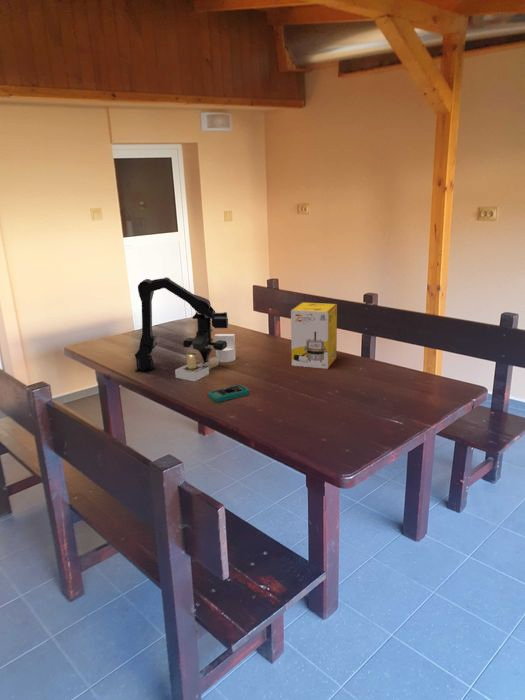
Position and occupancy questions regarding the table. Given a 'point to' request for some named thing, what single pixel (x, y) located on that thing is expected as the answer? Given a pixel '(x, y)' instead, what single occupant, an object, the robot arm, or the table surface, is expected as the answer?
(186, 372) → the square frame with handle
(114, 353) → the table surface
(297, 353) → the packaging box
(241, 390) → the digital multimeter
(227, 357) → the base with upright slab
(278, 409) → the table surface
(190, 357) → the brown mottled cylinder
